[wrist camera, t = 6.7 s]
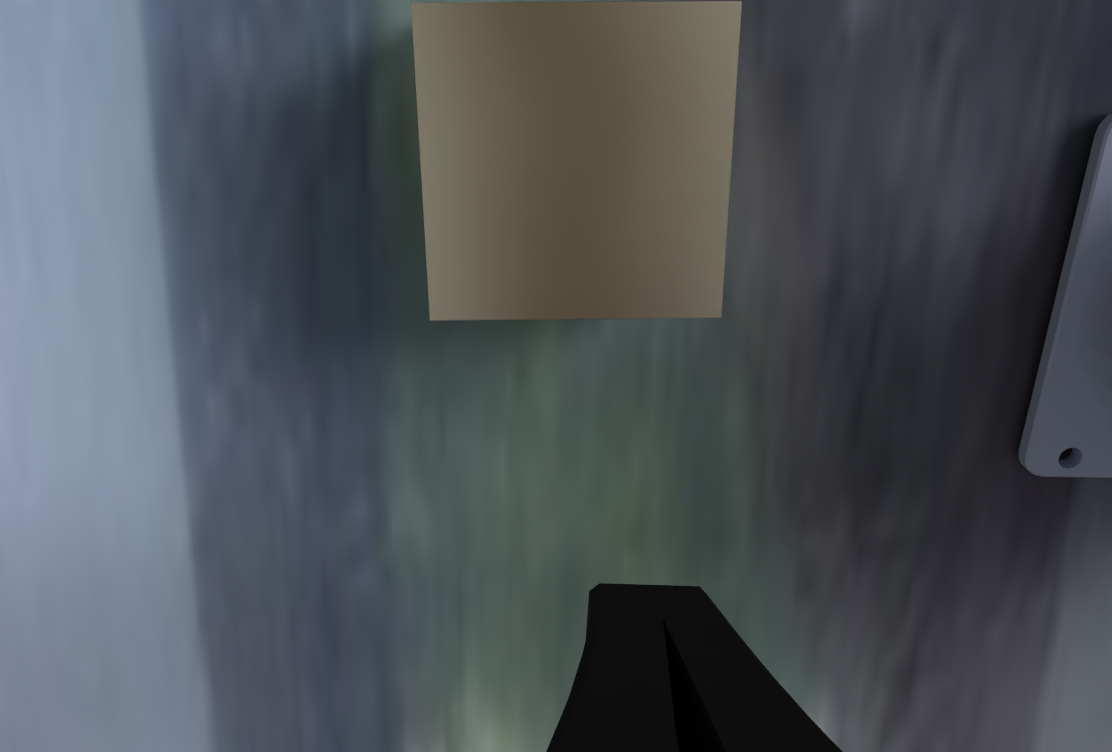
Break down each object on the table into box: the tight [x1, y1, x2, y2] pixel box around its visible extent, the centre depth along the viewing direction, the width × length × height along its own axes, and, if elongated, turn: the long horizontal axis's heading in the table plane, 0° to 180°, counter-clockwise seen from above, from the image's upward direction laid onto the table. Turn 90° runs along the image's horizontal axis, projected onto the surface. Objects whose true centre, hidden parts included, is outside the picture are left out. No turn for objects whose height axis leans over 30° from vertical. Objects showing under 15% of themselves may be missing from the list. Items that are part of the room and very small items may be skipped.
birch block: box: [411, 1, 742, 321], centre depth 16 cm, size 5×5×4 cm
